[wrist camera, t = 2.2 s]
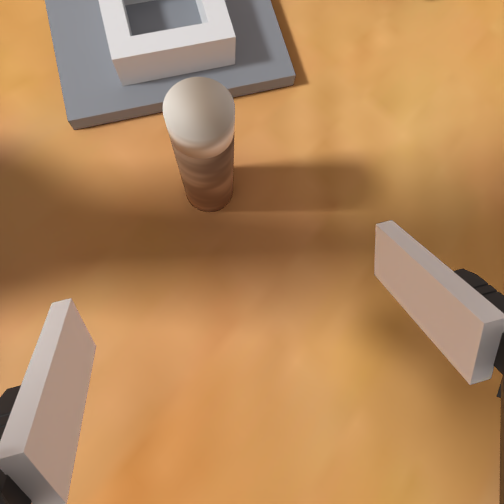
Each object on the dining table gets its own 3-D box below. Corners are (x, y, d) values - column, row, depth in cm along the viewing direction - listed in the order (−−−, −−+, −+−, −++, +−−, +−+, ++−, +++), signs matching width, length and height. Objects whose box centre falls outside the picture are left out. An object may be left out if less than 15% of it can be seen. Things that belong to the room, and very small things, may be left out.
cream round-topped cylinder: (191, 216, 36) (171, 147, 23) (181, 173, 36) (155, 84, 24) (237, 205, 36) (242, 131, 23) (226, 163, 37) (224, 70, 24)
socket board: (74, 129, 37) (50, 97, 32) (48, -6, 40) (23, -54, 35) (293, 85, 39) (302, 48, 34) (251, -39, 43) (254, -88, 38)
